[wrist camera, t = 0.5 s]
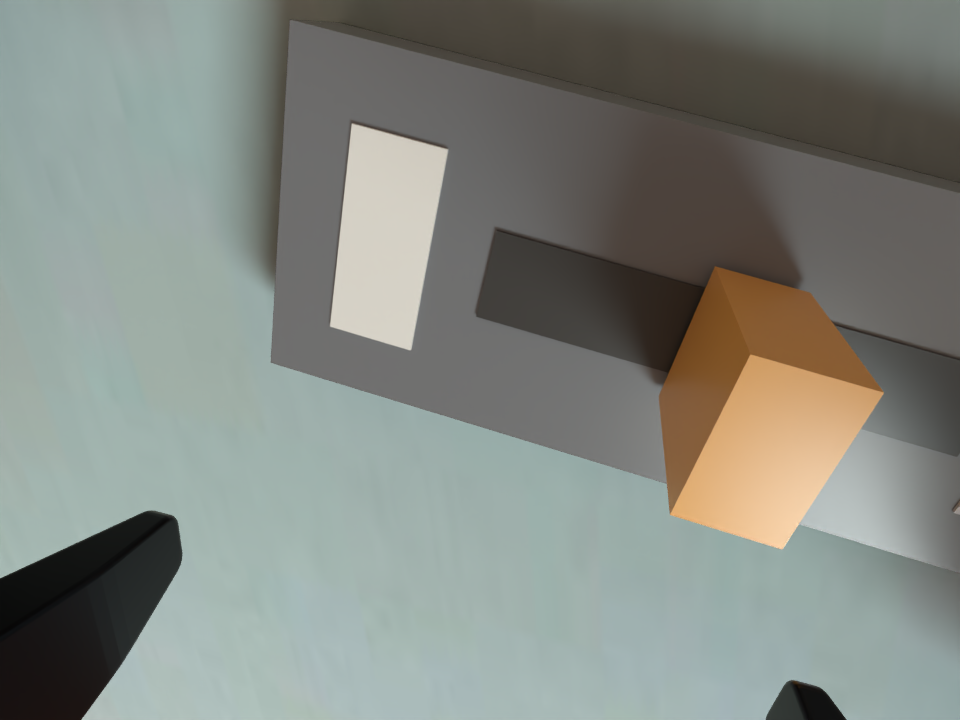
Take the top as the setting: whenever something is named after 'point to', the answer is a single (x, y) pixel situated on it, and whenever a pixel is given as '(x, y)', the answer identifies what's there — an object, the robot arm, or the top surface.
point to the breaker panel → (600, 264)
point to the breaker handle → (758, 408)
